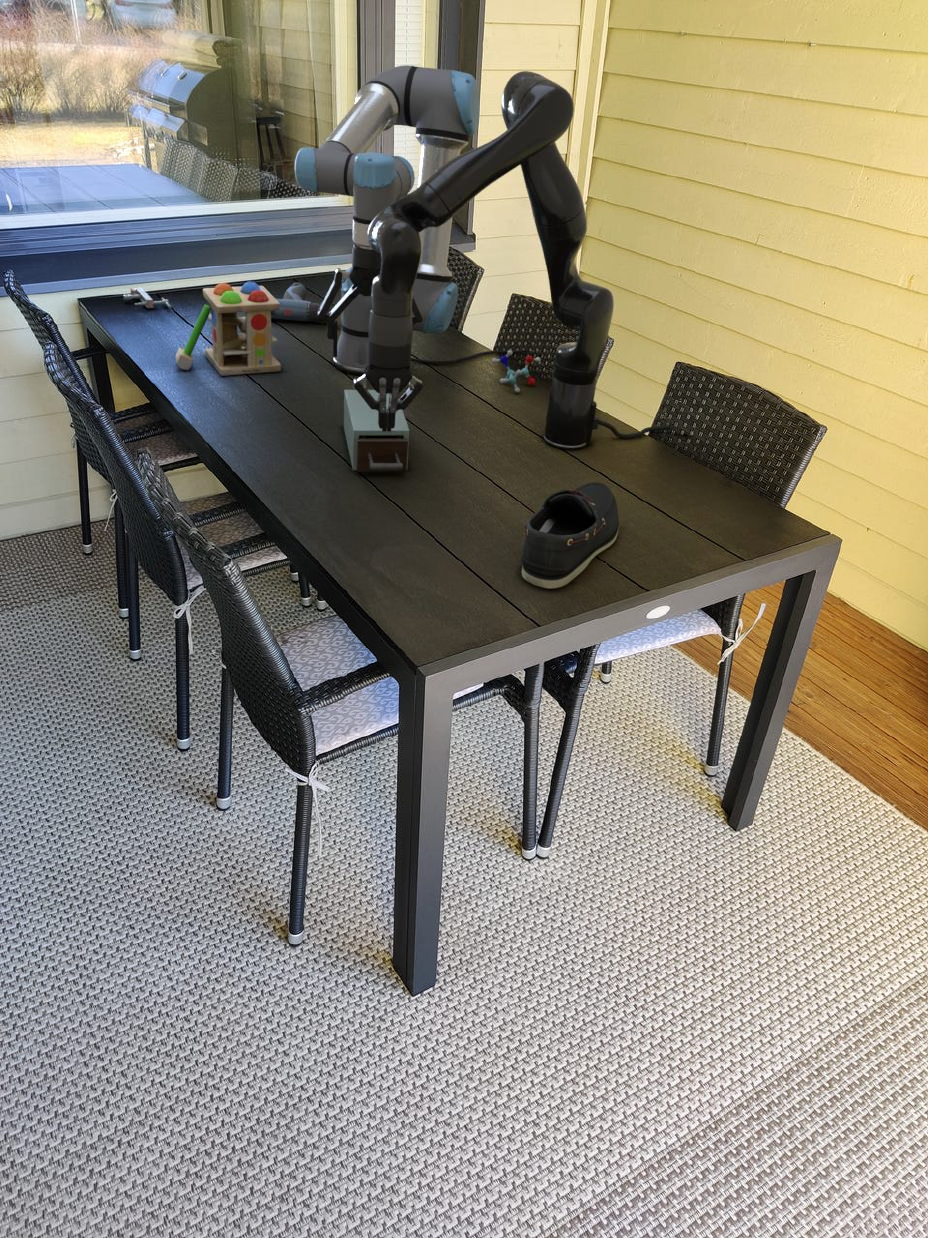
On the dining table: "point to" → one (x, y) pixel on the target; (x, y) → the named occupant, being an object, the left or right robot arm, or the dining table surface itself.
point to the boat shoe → (568, 534)
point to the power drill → (297, 305)
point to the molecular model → (511, 373)
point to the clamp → (144, 298)
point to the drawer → (381, 453)
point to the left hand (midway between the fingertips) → (369, 355)
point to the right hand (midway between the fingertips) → (386, 429)
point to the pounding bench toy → (229, 347)
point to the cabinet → (367, 421)
